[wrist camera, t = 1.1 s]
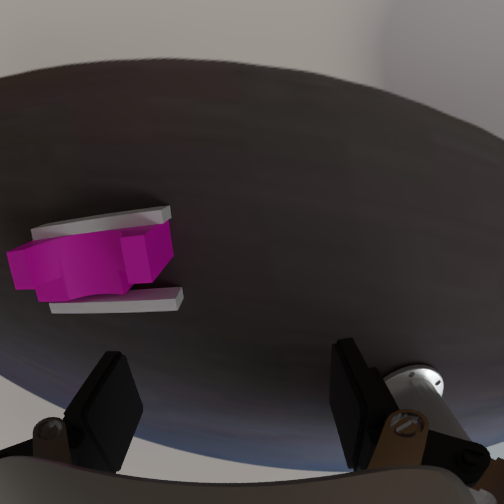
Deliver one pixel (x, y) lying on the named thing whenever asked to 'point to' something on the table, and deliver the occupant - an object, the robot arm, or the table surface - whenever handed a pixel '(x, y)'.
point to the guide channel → (133, 298)
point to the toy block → (91, 262)
